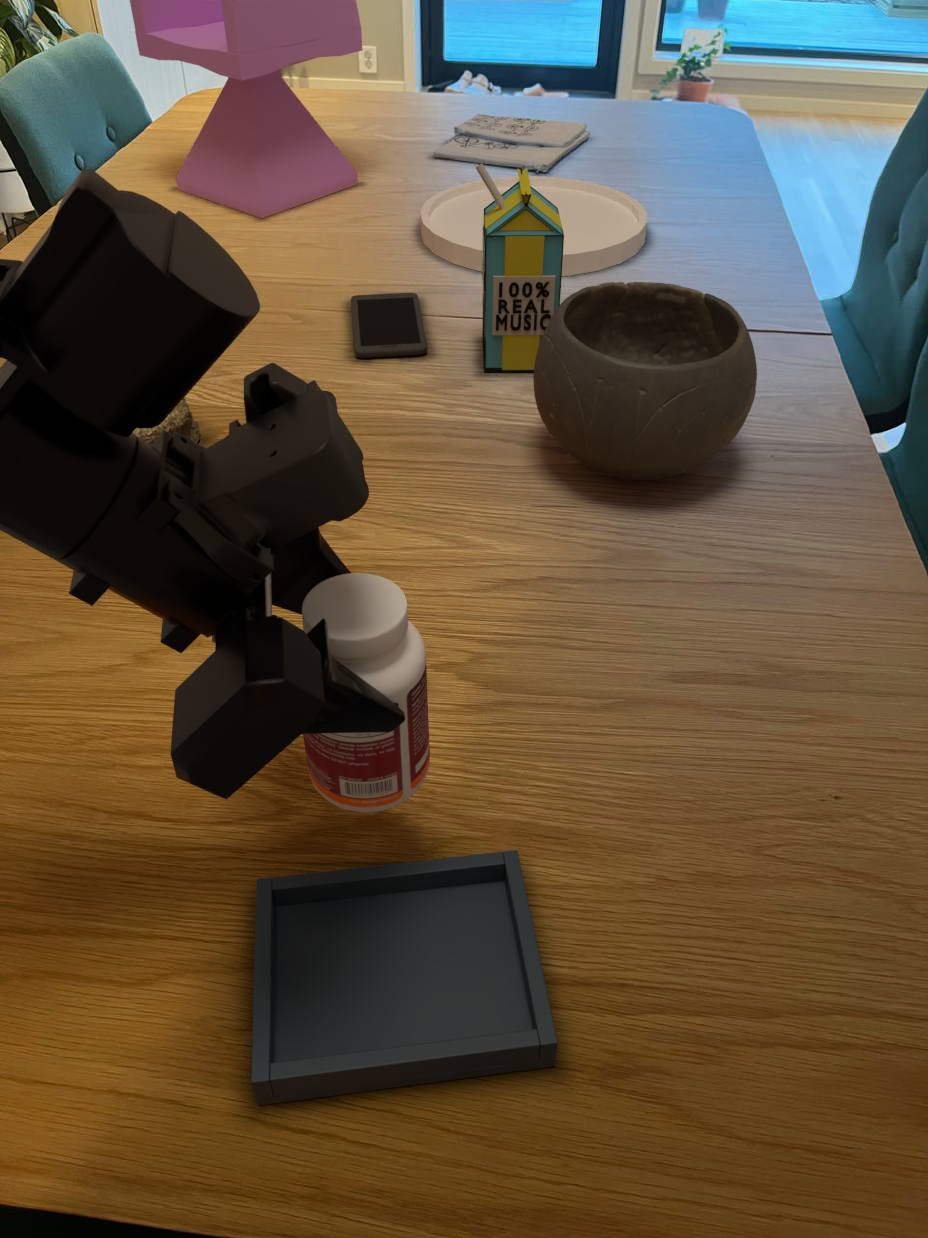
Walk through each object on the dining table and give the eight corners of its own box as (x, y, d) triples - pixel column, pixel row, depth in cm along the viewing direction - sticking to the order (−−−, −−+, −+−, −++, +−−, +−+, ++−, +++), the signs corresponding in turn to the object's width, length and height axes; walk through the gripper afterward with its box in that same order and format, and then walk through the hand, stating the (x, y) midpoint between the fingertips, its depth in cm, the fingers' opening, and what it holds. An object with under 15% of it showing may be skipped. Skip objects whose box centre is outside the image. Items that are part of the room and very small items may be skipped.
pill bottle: (375, 707, 55) (363, 544, 48) (455, 769, 52) (455, 604, 45) (283, 769, 52) (256, 603, 45) (362, 839, 49) (346, 672, 41)
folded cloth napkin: (591, 137, 158) (592, 122, 156) (545, 175, 144) (546, 159, 142) (478, 123, 164) (479, 108, 162) (424, 158, 150) (423, 143, 148)
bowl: (691, 395, 95) (712, 262, 87) (775, 501, 82) (810, 356, 74) (507, 415, 93) (511, 280, 84) (563, 529, 79) (575, 381, 71)
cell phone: (417, 297, 112) (417, 291, 111) (428, 355, 101) (428, 348, 101) (350, 301, 111) (350, 294, 111) (354, 359, 101) (354, 352, 100)
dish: (257, 1106, 46) (250, 1082, 44) (262, 904, 54) (256, 878, 52) (554, 1067, 47) (557, 1042, 46) (516, 875, 55) (517, 849, 54)
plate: (588, 295, 113) (589, 273, 111) (377, 248, 123) (376, 227, 122) (678, 217, 131) (681, 197, 130) (488, 182, 142) (488, 163, 140)
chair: (164, 189, 140) (115, -73, 120) (274, 155, 151) (245, -90, 132) (261, 222, 130) (224, -58, 110) (370, 183, 141) (354, -77, 122)
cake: (224, 447, 90) (216, 394, 86) (123, 493, 84) (110, 439, 81) (161, 399, 94) (151, 347, 91) (62, 440, 89) (47, 387, 85)
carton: (474, 339, 104) (474, 153, 93) (550, 339, 104) (560, 152, 93) (475, 373, 99) (476, 179, 87) (555, 372, 99) (567, 179, 87)
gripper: (218, 494, 29) (565, 719, 38) (227, 251, 43) (479, 455, 52) (9, 715, 33) (364, 873, 42) (79, 428, 47) (335, 590, 56)
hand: (391, 674), depth 48 cm, fingers closed on pill bottle, 6 cm apart
